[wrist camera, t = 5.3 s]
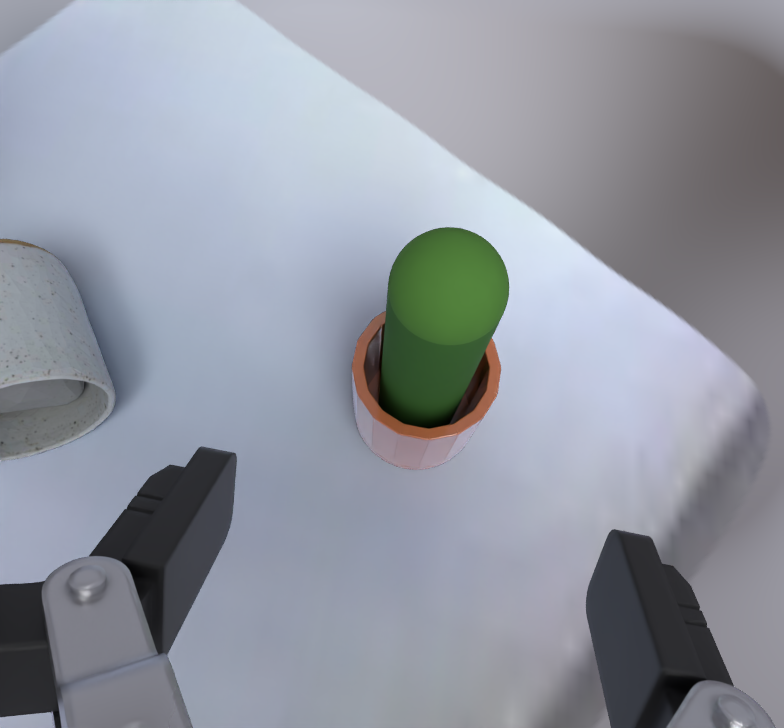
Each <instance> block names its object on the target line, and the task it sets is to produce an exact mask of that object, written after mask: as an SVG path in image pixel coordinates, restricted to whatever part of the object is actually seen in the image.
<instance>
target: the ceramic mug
mask: <svg viewBox="0 0 784 728" xmlns="http://www.w3.org/2000/svg"><path fill="white" fill-rule="evenodd" d="M115 400H116V394H115V389H114V386H113V384H112V381H111V378H110V376H109V373H108V371H107V368H106V365H105V363H104V360H103V357H102V354H101V351H100V349H99V346H98V343H97V340H96V337H95V335H94V332H93V330H92V327H91V325H90V322H89V320H88V317H87V314H86V311H85V308H84V305H83V302H82V298H81V296H80V294H79V291H78V289H77V286H76V284H75V282H74V281H73V279H72V278H71V276H70V274H69V272H68V271H67V269H66V268H65V266H64V265H63V264H62V263H61V261H60V260H59V259H58V258H56V257H55V256H54V255H53V254H51V253H50V252H48V251H46V250H45V249H42V248H40V247H38V246H35V245H33V244H29V243H26V242H22V241H18V240H11V239H0V461H5V460H13V459H19V458H24V457H29V456H32V455H35V454H38V453H42V452H45V451H47V450H51V449H54V448H57V447H60V446H62V445H65V444H67V443H69V442H72V441H74V440H76V439H78V438H80V437H82V436H83V435H85V434H87V433H89V432H90V431H92V430H94V429H95V428H96V427H97V426H99V425H100V424H101V423H102V422H103V421H104V420H105V419H107V417H108V416H109V415H110V414H111V412H112V411H113V408H114V405H115Z"/></svg>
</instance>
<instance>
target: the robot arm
mask: <svg viewBox="0 0 784 728" xmlns="http://www.w3.org/2000/svg"><path fill="white" fill-rule="evenodd" d="M236 464H237V457H236V454H235V453H232V452H227V451H222V450H217V449H212V448H207V447H202V446H201V447H200V448H198V450H197V451H196V452H195V454H194V455H193V457H192V458H191V460H190V461H189V462H188V464H187V465H186V467H180V466H175V465H169V466H167V467H165V468H164V469H162V470H160V471H159V472H157V473H155V474H154V475H152V476H150V477H149V479H148V480H147V481H146V482H145V484H144V485H143V486H142V488H141V489H140V490H139V492H138V494H137V496H135V497H134V498H133V499H132V501H131V502H130V503H129V505H128V507H127V509H125V510H124V511H123V512H122V514H121V515H120V516H119V518H118V519H117V520H116V521H115V523H114V524H113V525H112V527H111V528H110V529H109V531H108V532H107V533H106V535H105V536H104V537H103V538H102V540H101V541H100V542H99V544H98V545H97V546H96V548H95V549H94V550H93V551H92V553H91V554H90V555H89V557H83V558H79V559H75V560H72V561H70V562H67V563H65V564H64V565H62V566H60V567H59V568H57V569H56V570H54V571H53V572H52V573H51V574H50V575H49V576H48V578H47V579H46V580H45V581H42V582H36V583H23V584H3V585H0V717H6V716H16V715H26V714H36V713H46V712H51V714H52V720H53V726H54V728H193V727H192V724H191V721H190V718H189V715H188V712H187V709H186V706H185V703H184V701H183V698H182V695H181V692H180V689H179V686H178V683H177V680H176V677H175V674H174V672H173V669H172V666H171V663H170V661H169V658H168V656H167V654H168V652H169V650H170V648H171V646H172V644H173V642H174V640H175V638H176V636H177V634H178V632H179V630H180V628H181V626H182V624H183V622H184V620H185V618H186V616H187V615H188V613H189V611H190V609H191V607H192V605H193V603H194V601H195V599H196V597H197V595H198V593H199V591H200V589H201V587H202V585H203V583H204V581H205V579H206V577H207V575H208V573H209V571H210V569H211V567H212V565H213V563H214V561H215V559H216V557H217V555H218V553H219V551H220V550H221V548H222V546H223V544H224V542H225V539H226V537H227V534H228V531H229V528H230V524H231V520H232V514H233V503H234V490H235V477H236ZM699 608H700V606H699V604H698V601H697V599H696V597H695V594H694V592H693V590H692V587H691V586H690V584H689V583H688V582H687V581H686V580H685V579H684V578H683V577H682V575H681V574H680V573H679V572H678V571H677V570H676V569H675V568H674V566H671V565H666V564H662V563H661V560H660V558H659V555H658V552H657V550H656V547H655V545H654V542H653V540H652V539H651V537H649V536H645V535H640V534H635V533H630V532H625V531H620V530H615V529H614V530H612V531H611V532H610V533H609V534H608V536H607V539H606V541H605V544H604V547H603V549H602V552H601V554H600V557H599V560H598V562H597V565H596V568H595V570H594V573H593V575H592V578H591V581H590V583H589V587H588V591H587V597H586V614H587V619H588V624H589V628H590V633H591V637H592V642H593V647H594V651H595V656H596V660H597V665H598V670H599V674H600V679H601V683H602V688H603V693H604V697H605V702H606V706H607V711H608V716H609V720H610V725H611V728H775V725H774V723H773V722H772V720H771V718H770V717H769V715H768V714H767V713H766V712H765V710H764V709H763V708H762V707H761V706H760V705H759V704H758V703H757V702H756V701H755V700H754V699H752V698H751V697H750V696H748V695H747V694H746V693H744V692H743V691H741V690H739V689H737V688H735V687H734V685H733V683H732V680H731V678H730V676H729V673H728V671H727V669H726V666H725V664H724V662H723V660H722V657H721V655H720V653H719V650H718V648H717V646H716V643H715V641H714V639H713V636H712V634H711V632H710V629H709V628H707V623H706V620H705V618H704V616H703V613H702V611H700V610H699Z"/></svg>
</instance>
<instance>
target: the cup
mask: <svg viewBox="0 0 784 728" xmlns="http://www.w3.org/2000/svg"><path fill="white" fill-rule="evenodd" d="M385 317H386V311H384V312H383V313H381V314H379V315H378V316H376V317H375V318H374V319H373V320H372V321H371V322H370V324H369V325H368V326H367V328H366V329H365V330H364V332H363V333H362V335H361V336H360V337H359V339H358V341H357V344H356V349H355V353H354V358H353V362H352V386H353V407H354V412H355V420H356V424H357V428H358V430H359V433H360V435H361V437H362V439H363V440H364V442H365V443H366V445H367V446H368V447H369V449H370V450H371V451H372V452H373V453H374V454H376V455H377V456H378V457H380V458H381V459H382V460H384V461H386V462H388V463H389V464H392V465H394V466H397V467H401V468H405V469H412V470H421V469H428V468H432V467H436V466H439V465H441V464H443V463H445V462H447V461H449V460H450V459H452V458H453V457H454V456H456V455H457V454H458V453H459V452H460V451H461V450H462V449H463V448H464V447H465V445H466V444H467V442H468V441H469V439H470V437H471V436H472V434H473V433H474V431H475V430H476V428H477V427H478V425H479V424H480V422H481V420H482V419H483V417H484V416H485V414H486V413H487V411H488V409H489V408H490V406H491V405H492V403H493V401H494V400H495V398H496V397H497V394H498V388H499V381H500V374H501V365H500V361H499V357H498V354H497V350H496V347H495V343H494V341H493V339H492V338H491V340H490V342H489V344H488V346H487V348H486V350H485V352H484V354H483V357H482V359H481V361H480V363H479V365H478V367H477V369H476V371H475V373H474V375H473V377H472V379H471V381H470V383H469V385H468V388H467V390H466V392H465V394H464V396H463V398H462V400H461V402H460V404H459V406H458V408H457V410H456V412H455V414H454V416H453V418H452V421H451V423H450V424H449V425H444V426H439V427H434V428H429V429H428V428H423V427H418V426H413V425H408V424H403V423H402V422H400V421H399V420H397V419H395V418H394V417H392V416H391V415H389V414H388V413H386V412H385V411H383V410H382V409H381V407H380V406H379V404H378V403H379V391H380V379H381V367H382V354H383V342H384V330H385Z"/></svg>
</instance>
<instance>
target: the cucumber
mask: <svg viewBox="0 0 784 728" xmlns="http://www.w3.org/2000/svg"><path fill="white" fill-rule="evenodd" d="M508 296H509V279H508V274H507V270H506V267H505V265H504V262H503V260H502V258H501V256H500V255H499V254H498V252H497V251H496V249H495V248H494V247H493V246H492V245H491V244H490V243H489V242H488V241H487V240H485V239H484V238H482V237H481V236H479V235H477V234H475V233H473V232H471V231H468V230H464V229H460V228H449V227H446V228H438V229H433V230H430V231H428V232H425V233H423V234H421V235H419V236H417V237H416V238H414V239H413V240H412V241H410V242H409V243H408V244H407V245H406V246H405V247H404V248H403V249H402V251H401V252H400V253H399V255H398V256H397V258H396V260H395V262H394V264H393V266H392V269H391V272H390V276H389V282H388V293H387V305H386V317H385V330H384V342H383V354H382V367H381V379H380V391H379V403H378V404H379V406H380V407H381V409H382V410H383V411H385V412H386V413H388V414H389V415H391V416H392V417H394V418H395V419H397V420H399V421H400V422H402V423H403V424H408V425H413V426H418V427H423V428H428V429H429V428H434V427H439V426H444V425H449V424H450V423H451V421H452V418H453V416H454V414H455V412H456V410H457V408H458V406H459V404H460V402H461V400H462V398H463V396H464V394H465V392H466V390H467V388H468V385H469V383H470V381H471V379H472V377H473V375H474V373H475V371H476V369H477V367H478V365H479V363H480V361H481V359H482V357H483V354H484V352H485V350H486V348H487V346H488V344H489V342H490V340H491V338H492V336H493V334H494V332H495V330H496V328H497V326H498V324H499V321H500V319H501V317H502V315H503V313H504V310H505V308H506V305H507V301H508Z"/></svg>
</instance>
